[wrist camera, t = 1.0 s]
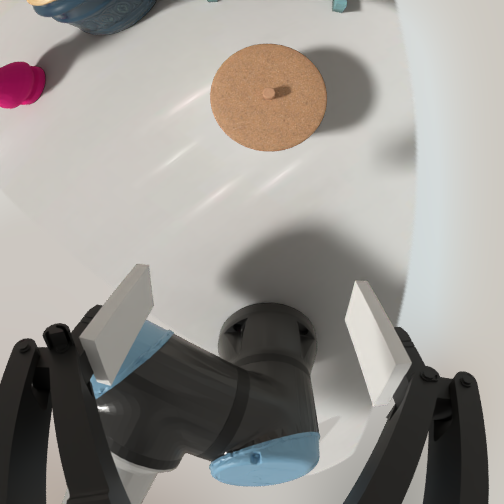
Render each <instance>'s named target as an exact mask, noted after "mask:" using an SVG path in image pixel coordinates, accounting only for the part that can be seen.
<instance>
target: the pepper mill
mask: <svg viewBox="0 0 504 504" xmlns="http://www.w3.org/2000/svg"><path fill="white" fill-rule="evenodd" d="M44 86H45V73H44V71H43V69H42V68H40V67H36V66H30V65H29V64H27V63H25V62H14V63H10V64H8V65H6V66H3V67H1V68H0V107H2V108H10V109H12V108H15V107H17V106H19V105H20V104H21V105H27V104H32V103H34V102H35V101H36V100H37V99H38V98H39V97H40V95H41V93H42V91H43V89H44Z"/></svg>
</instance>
